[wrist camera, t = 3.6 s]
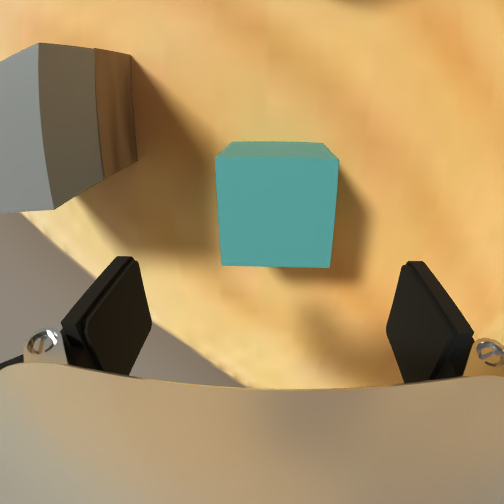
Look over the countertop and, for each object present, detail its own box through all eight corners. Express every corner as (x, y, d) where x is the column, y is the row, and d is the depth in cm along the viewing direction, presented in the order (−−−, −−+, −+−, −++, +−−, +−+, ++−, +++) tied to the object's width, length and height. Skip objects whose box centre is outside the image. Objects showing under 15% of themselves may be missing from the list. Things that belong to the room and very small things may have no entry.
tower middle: (94, 49, 13) (38, 42, 8) (103, 179, 17) (54, 209, 12) (6, 82, 13) (-47, 91, 9) (18, 188, 17) (-29, 215, 13)
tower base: (131, 55, 17) (94, 48, 13) (138, 160, 21) (105, 178, 17) (48, 79, 18) (6, 82, 14) (57, 170, 22) (19, 189, 17)
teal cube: (322, 142, 19) (339, 159, 14) (318, 225, 22) (329, 267, 17) (232, 141, 20) (214, 157, 15) (235, 224, 23) (221, 265, 17)
